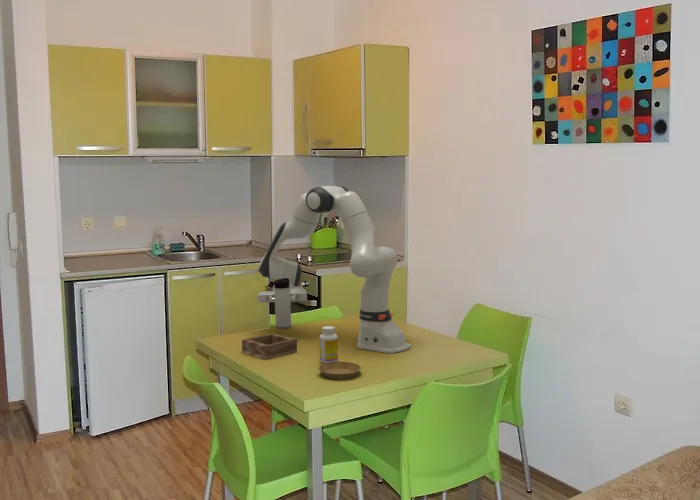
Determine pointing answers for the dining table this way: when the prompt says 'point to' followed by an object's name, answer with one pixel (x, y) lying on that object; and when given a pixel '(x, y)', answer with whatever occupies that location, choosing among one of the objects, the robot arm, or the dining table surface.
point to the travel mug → (282, 303)
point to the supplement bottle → (328, 345)
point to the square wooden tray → (269, 346)
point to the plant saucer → (339, 370)
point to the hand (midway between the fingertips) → (282, 299)
